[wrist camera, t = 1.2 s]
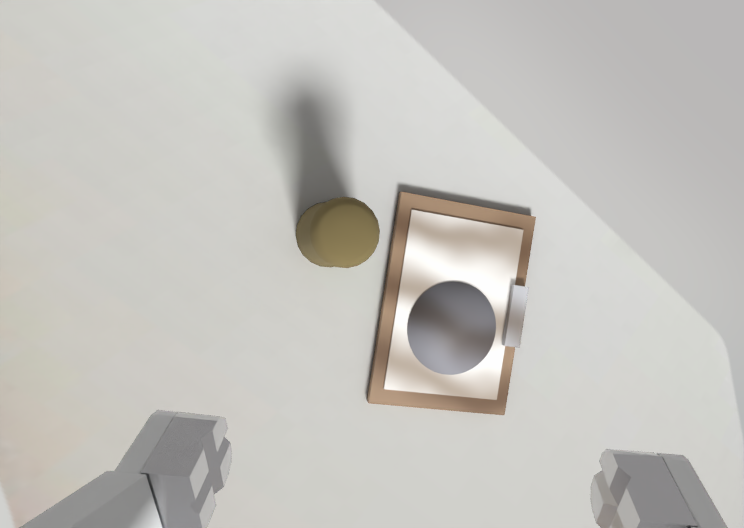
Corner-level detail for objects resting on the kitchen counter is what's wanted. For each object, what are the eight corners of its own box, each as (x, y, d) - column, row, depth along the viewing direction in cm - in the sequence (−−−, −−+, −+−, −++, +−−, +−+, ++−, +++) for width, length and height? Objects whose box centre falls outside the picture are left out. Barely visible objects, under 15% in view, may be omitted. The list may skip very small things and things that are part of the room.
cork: (333, 188, 45) (355, 171, 34) (373, 239, 46) (406, 239, 35) (281, 229, 44) (287, 224, 33) (323, 280, 45) (341, 292, 34)
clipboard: (399, 192, 46) (403, 190, 45) (531, 217, 49) (540, 216, 48) (366, 400, 46) (370, 405, 45) (500, 412, 49) (508, 418, 48)
